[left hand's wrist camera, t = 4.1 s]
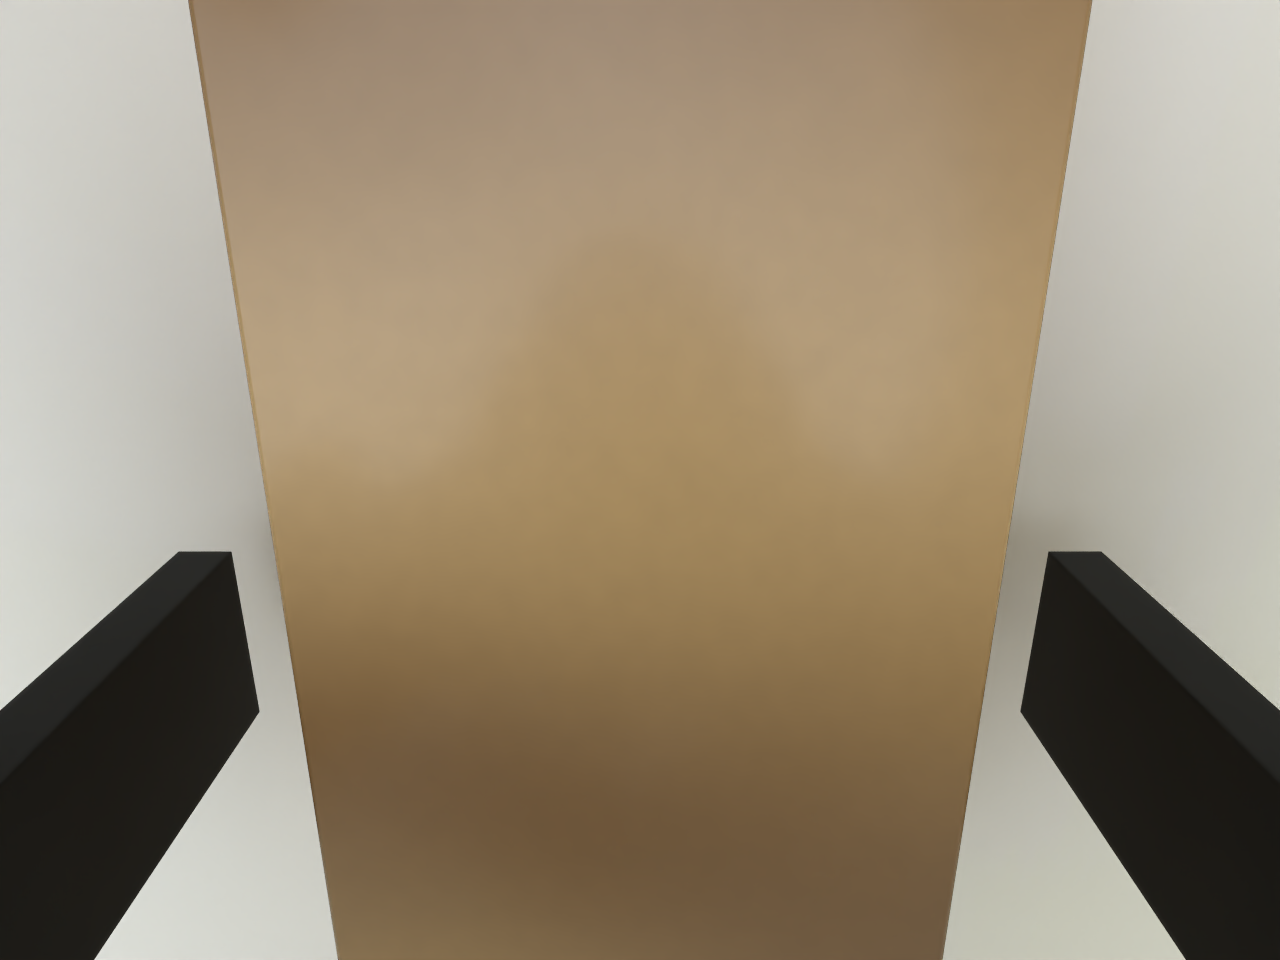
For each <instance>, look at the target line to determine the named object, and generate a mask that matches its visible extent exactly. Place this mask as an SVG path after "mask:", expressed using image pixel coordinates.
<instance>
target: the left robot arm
mask: <svg viewBox="0 0 1280 960" xmlns="http://www.w3.org/2000/svg"><path fill="white" fill-rule="evenodd" d="M258 713H259V706H258V700H257V695H256V689H255V683H254V677H253V672H252V666H251V660H250V655H249V649H248V643H247V638H246V632H245V626H244V621H243V615H242V609H241V603H240V598H239V592H238V586H237V581H236V575H235V569H234V564H233V558H232V552H178V553H177V554H176V555H174V556H173V557H172V558H171V559H170V560H169V561H168V562H167V563H165V564H164V565H163V566H162V567H161V568H160V569H159V570H158V571H156V572H155V573H154V574H153V575H152V576H151V577H150V578H149V579H147V580H146V581H145V582H144V583H143V584H142V585H141V586H140V587H138V588H137V589H136V590H135V591H134V592H133V593H132V594H131V595H130V596H128V597H127V598H126V599H125V600H124V601H123V602H122V603H121V604H119V605H118V606H117V607H116V608H115V609H114V610H113V611H112V612H110V613H109V614H108V615H107V616H106V617H105V618H104V619H103V620H101V621H100V622H99V623H98V624H97V625H96V626H95V627H94V628H92V629H91V630H90V631H89V632H88V633H87V634H86V635H85V636H83V637H82V638H81V639H80V640H79V641H78V642H77V643H76V644H74V645H73V646H72V647H71V648H70V649H69V650H68V651H67V652H65V653H64V654H63V655H62V656H61V657H60V658H59V659H58V660H56V661H55V662H54V663H53V664H52V665H51V666H50V667H49V668H47V669H46V670H45V671H44V672H43V673H42V674H41V675H40V676H38V677H37V678H36V679H35V680H34V681H33V682H32V683H31V684H29V685H28V686H27V687H26V688H25V689H24V690H23V691H22V692H20V693H19V694H18V695H17V696H16V697H15V698H14V699H13V700H12V701H10V702H9V703H8V704H7V705H6V706H5V707H4V708H3V709H1V710H0V960H94V959H95V958H96V956H97V955H98V953H99V952H100V950H101V949H102V947H103V946H104V944H105V943H106V941H107V940H108V938H109V937H110V935H111V934H112V932H113V931H114V929H115V928H116V926H117V925H118V923H119V922H120V920H121V919H122V917H123V916H124V914H125V913H126V911H127V910H128V908H129V907H130V905H131V904H132V902H133V901H134V899H135V898H136V896H137V895H138V893H139V892H140V890H141V889H142V887H143V886H144V884H145V883H146V881H147V880H148V878H149V877H150V875H151V874H152V872H153V871H154V869H155V868H156V866H157V865H158V863H159V862H160V860H161V859H162V857H163V856H164V854H165V853H166V851H167V850H168V848H169V847H170V845H171V844H172V842H173V841H174V839H175V838H176V836H177V835H178V833H179V832H180V830H181V829H182V827H183V826H184V824H185V823H186V821H187V820H188V818H189V817H190V815H191V814H192V812H193V811H194V809H195V808H196V806H197V805H198V803H199V802H200V800H201V799H202V797H203V796H204V794H205V793H206V791H207V790H208V788H209V787H210V785H211V784H212V782H213V781H214V779H215V778H216V776H217V775H218V773H219V772H220V770H221V769H222V767H223V766H224V764H225V763H226V761H227V760H228V758H229V757H230V755H231V754H232V752H233V751H234V749H235V748H236V746H237V745H238V743H239V742H240V740H241V739H242V737H243V736H244V734H245V733H246V731H247V730H248V728H249V727H250V725H251V724H252V722H253V721H254V719H255V718H256V716H257V715H258ZM1021 713H1022V715H1023V716H1024V718H1025V719H1026V721H1027V722H1028V724H1029V725H1030V727H1031V728H1032V730H1033V731H1034V733H1035V734H1036V736H1037V737H1038V739H1039V740H1040V742H1041V743H1042V745H1043V746H1044V748H1045V749H1046V751H1047V752H1048V754H1049V755H1050V757H1051V758H1052V760H1053V761H1054V763H1055V764H1056V766H1057V767H1058V769H1059V770H1060V772H1061V773H1062V775H1063V776H1064V778H1065V779H1066V781H1067V782H1068V784H1069V785H1070V787H1071V788H1072V790H1073V791H1074V793H1075V794H1076V796H1077V797H1078V799H1079V800H1080V802H1081V803H1082V805H1083V806H1084V808H1085V809H1086V811H1087V812H1088V814H1089V815H1090V817H1091V818H1092V820H1093V821H1094V823H1095V824H1096V826H1097V827H1098V829H1099V830H1100V832H1101V833H1102V835H1103V836H1104V838H1105V839H1106V841H1107V842H1108V844H1109V845H1110V847H1111V848H1112V850H1113V851H1114V853H1115V854H1116V856H1117V857H1118V859H1119V860H1120V862H1121V863H1122V865H1123V866H1124V868H1125V869H1126V871H1127V872H1128V874H1129V875H1130V877H1131V878H1132V880H1133V881H1134V883H1135V884H1136V886H1137V887H1138V889H1139V890H1140V892H1141V893H1142V895H1143V896H1144V898H1145V899H1146V901H1147V902H1148V904H1149V905H1150V907H1151V908H1152V910H1153V911H1154V913H1155V914H1156V916H1157V917H1158V919H1159V920H1160V922H1161V923H1162V925H1163V926H1164V928H1165V929H1166V931H1167V932H1168V934H1169V935H1170V937H1171V938H1172V940H1173V941H1174V943H1175V944H1176V946H1177V947H1178V949H1179V950H1180V952H1181V953H1182V955H1183V956H1184V958H1185V959H1186V960H1280V710H1279V709H1277V708H1276V707H1275V706H1274V705H1273V704H1272V703H1271V702H1270V701H1268V700H1267V699H1266V698H1265V697H1264V696H1263V695H1262V694H1261V693H1259V692H1258V691H1257V690H1256V689H1255V688H1254V687H1253V686H1252V685H1250V684H1249V683H1248V682H1247V681H1246V680H1245V679H1244V678H1243V677H1242V676H1240V675H1239V674H1238V673H1237V672H1236V671H1235V670H1234V669H1233V668H1231V667H1230V666H1229V665H1228V664H1227V663H1226V662H1225V661H1224V660H1222V659H1221V658H1220V657H1219V656H1218V655H1217V654H1216V653H1215V652H1213V651H1212V650H1211V649H1210V648H1209V647H1208V646H1207V645H1206V644H1204V643H1203V642H1202V641H1201V640H1200V639H1199V638H1198V637H1197V636H1195V635H1194V634H1193V633H1192V632H1191V631H1190V630H1189V629H1188V628H1186V627H1185V626H1184V625H1183V624H1182V623H1181V622H1180V621H1179V620H1177V619H1176V618H1175V617H1174V616H1173V615H1172V614H1171V613H1170V612H1168V611H1167V610H1166V609H1165V608H1164V607H1163V606H1162V605H1161V604H1159V603H1158V602H1157V601H1156V600H1155V599H1154V598H1153V597H1152V596H1150V595H1149V594H1148V593H1147V592H1146V591H1145V590H1144V589H1143V588H1141V587H1140V586H1139V585H1138V584H1137V583H1136V582H1135V581H1134V580H1132V579H1131V578H1130V577H1129V576H1128V575H1127V574H1126V573H1125V572H1124V571H1122V570H1121V569H1120V568H1119V567H1118V566H1117V565H1116V564H1115V563H1113V562H1112V561H1111V560H1110V559H1109V558H1108V557H1107V556H1106V555H1104V554H1103V553H1102V552H1048V558H1047V564H1046V569H1045V575H1044V581H1043V586H1042V592H1041V598H1040V603H1039V609H1038V615H1037V620H1036V626H1035V632H1034V638H1033V643H1032V649H1031V655H1030V660H1029V666H1028V672H1027V677H1026V683H1025V689H1024V694H1023V700H1022V706H1021Z"/></svg>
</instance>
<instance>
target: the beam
mask: <svg viewBox="0 0 1280 960" xmlns="http://www.w3.org/2000/svg"><path fill="white" fill-rule="evenodd" d="M188 2H189V8H190V15H191V21H192V28H193V34H194V40H195V47H196V53H197V60H198V66H199V72H200V79H201V85H202V92H203V98H204V104H205V111H206V117H207V124H208V130H209V136H210V143H211V149H212V156H213V162H214V168H215V175H216V181H217V188H218V194H219V200H220V207H221V213H222V220H223V226H224V232H225V239H226V245H227V252H228V258H229V264H230V271H231V277H232V284H233V290H234V296H235V303H236V309H237V316H238V322H239V329H240V335H241V341H242V348H243V354H244V361H245V367H246V373H247V380H248V386H249V393H250V399H251V405H252V412H253V418H254V425H255V431H256V437H257V444H258V450H259V457H260V463H261V469H262V476H263V482H264V489H265V495H266V501H267V508H268V514H269V521H270V527H271V533H272V540H273V546H274V553H275V559H276V565H277V572H278V578H279V585H280V591H281V597H282V604H283V610H284V617H285V623H286V629H287V636H288V642H289V649H290V655H291V661H292V668H293V674H294V681H295V687H296V693H297V700H298V706H299V713H300V719H301V725H302V732H303V738H304V745H305V751H306V757H307V764H308V770H309V777H310V783H311V789H312V796H313V802H314V809H315V815H316V821H317V828H318V834H319V841H320V847H321V853H322V860H323V866H324V873H325V879H326V885H327V892H328V898H329V905H330V911H331V917H332V924H333V930H334V937H335V943H336V949H337V956H338V960H942V959H943V952H944V946H945V939H946V933H947V927H948V920H949V914H950V907H951V901H952V895H953V888H954V882H955V875H956V869H957V863H958V856H959V850H960V844H961V837H962V831H963V824H964V818H965V812H966V805H967V799H968V792H969V786H970V780H971V773H972V767H973V760H974V754H975V748H976V741H977V735H978V728H979V722H980V716H981V709H982V703H983V696H984V690H985V684H986V677H987V671H988V664H989V658H990V652H991V645H992V639H993V632H994V626H995V620H996V613H997V607H998V600H999V594H1000V588H1001V581H1002V575H1003V568H1004V562H1005V556H1006V549H1007V543H1008V536H1009V530H1010V524H1011V517H1012V511H1013V504H1014V498H1015V492H1016V485H1017V479H1018V472H1019V466H1020V460H1021V453H1022V447H1023V441H1024V434H1025V428H1026V421H1027V415H1028V409H1029V402H1030V396H1031V389H1032V383H1033V377H1034V370H1035V364H1036V357H1037V351H1038V345H1039V338H1040V332H1041V325H1042V319H1043V313H1044V306H1045V300H1046V293H1047V287H1048V281H1049V274H1050V268H1051V261H1052V255H1053V249H1054V242H1055V236H1056V229H1057V223H1058V217H1059V210H1060V204H1061V197H1062V191H1063V185H1064V178H1065V172H1066V165H1067V159H1068V153H1069V146H1070V140H1071V133H1072V127H1073V121H1074V114H1075V108H1076V101H1077V95H1078V89H1079V82H1080V76H1081V70H1082V63H1083V57H1084V50H1085V44H1086V38H1087V31H1088V25H1089V18H1090V12H1091V6H1092V0H188Z"/></svg>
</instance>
